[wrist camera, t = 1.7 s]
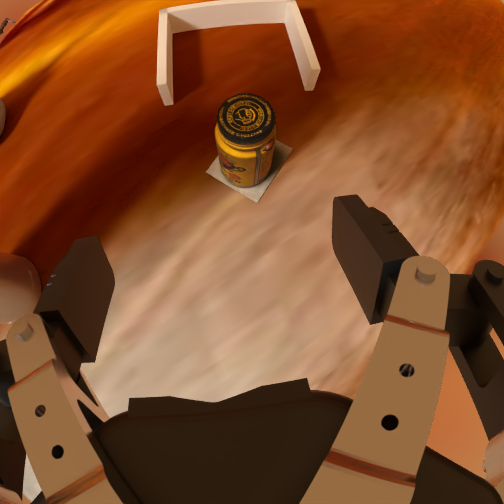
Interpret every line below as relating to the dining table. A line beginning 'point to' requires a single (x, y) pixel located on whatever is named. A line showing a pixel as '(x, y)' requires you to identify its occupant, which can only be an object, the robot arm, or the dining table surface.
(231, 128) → the condiment
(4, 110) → the coffee pot
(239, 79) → the dining table surface
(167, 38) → the caddy
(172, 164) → the dining table surface
